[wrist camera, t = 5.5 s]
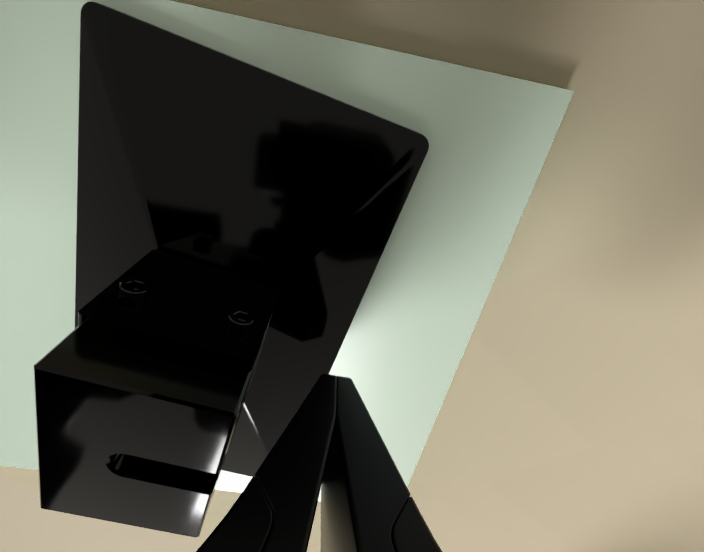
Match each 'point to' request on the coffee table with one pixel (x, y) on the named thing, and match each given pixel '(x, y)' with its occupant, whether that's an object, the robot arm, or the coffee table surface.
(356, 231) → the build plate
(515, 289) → the coffee table surface
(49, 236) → the base plate
